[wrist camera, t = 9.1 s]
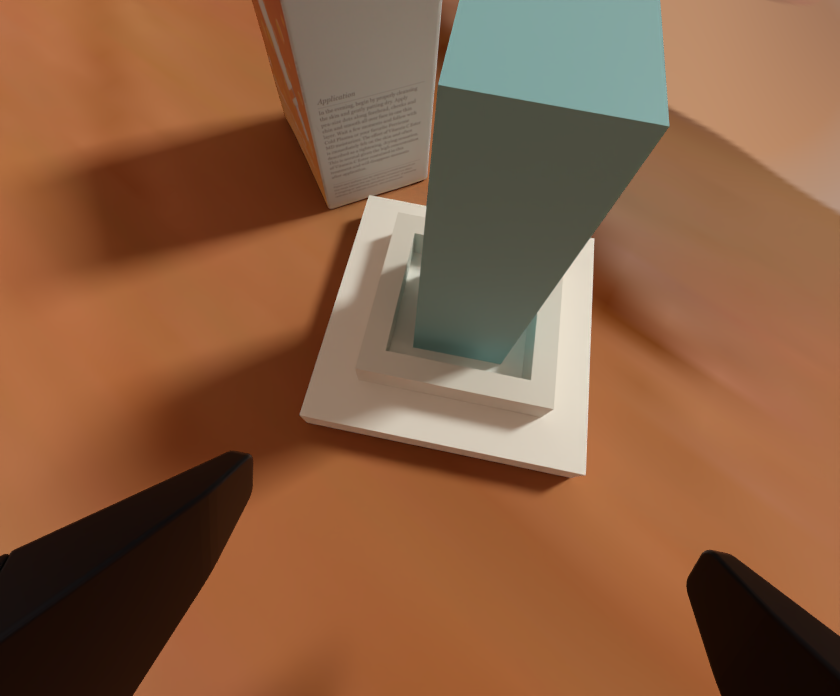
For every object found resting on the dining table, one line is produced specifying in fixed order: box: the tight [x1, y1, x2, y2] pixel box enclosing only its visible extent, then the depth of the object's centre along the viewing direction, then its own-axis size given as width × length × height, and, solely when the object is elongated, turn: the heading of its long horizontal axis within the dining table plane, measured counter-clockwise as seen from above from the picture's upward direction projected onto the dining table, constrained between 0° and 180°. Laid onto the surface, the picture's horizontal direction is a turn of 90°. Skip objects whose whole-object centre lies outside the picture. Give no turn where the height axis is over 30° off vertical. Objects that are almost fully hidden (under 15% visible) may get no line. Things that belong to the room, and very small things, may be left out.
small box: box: [252, 0, 442, 209], centre depth 18 cm, size 8×6×13 cm
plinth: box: [299, 195, 594, 478], centre depth 19 cm, size 12×12×3 cm
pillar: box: [413, 0, 669, 364], centre depth 13 cm, size 4×4×12 cm
